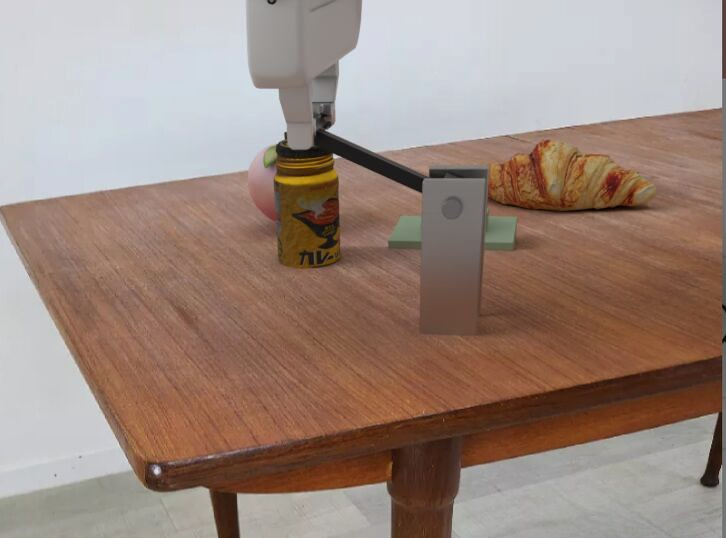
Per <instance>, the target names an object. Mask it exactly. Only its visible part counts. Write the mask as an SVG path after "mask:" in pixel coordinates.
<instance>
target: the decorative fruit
mask: <svg viewBox="0 0 726 538" xmlns="http://www.w3.org/2000/svg"><path fill="white" fill-rule="evenodd" d="M283 136H284V140H285V139H287V131H284V132H283ZM277 144H278V143H273V144H270V145H268V146H266V147H263V148H262V149H261V150H260V151H259V152H257V154H256V155H255V156H254V158H253V160H252V161H251V162H250V164H249V166H248V171H247V188H248V193H249V195H250V198H251V200H252V202H253V204H254V205H255V206H256V208H257V209H258V211H260V212H261V213H262V214H263V215H264V216H265V217H267V218H269V219H270V220H271V221H273V222H275V223H276V211H275V199H274V197H275V196H274V175H275V174H276V172H277V169H276V160H277V153H276V150H275V149H276V145H277Z"/></svg>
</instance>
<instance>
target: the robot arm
mask: <svg viewBox="0 0 726 538" xmlns="http://www.w3.org/2000/svg"><path fill="white" fill-rule="evenodd" d="M362 9H363V0H245V26H246V30H245V31H246V54H247V55H246V56H247V64H248V65H247V67H248V72H249V75H250V79H251V82H252V85H253V86H254V88H256V89H261V90H265V89H266V90H268V89H269V90H272V89H273V90H278V100H279V103H280V106H281V111H282V114H283V118H284V120H285V121H284V122H285V123H286V125H285V126H286V132H287V141H288V146H289V147H290V148H291V149H293V150H307V149H309V148H310V147H312V146H313V144H314V143H315V141H316V118H314V119H313V113H318V114H320V115H321V116H323V118H324V119H325V122H326V129H325V131H327V130H330V128H332V127H333V126H334V125H335V123H336V121H337V120H336V99H337V93H338V84H339V79H340V78H339V77H340V60H341V59H343V58H344V57H346V56H347V55H349V54H350V53H351V52H352V51H354V50H356V48H357V46H358V43H359V38H360V31H361V23H362V12H363V10H362Z"/></svg>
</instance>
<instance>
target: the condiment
mask: <svg viewBox="0 0 726 538" xmlns="http://www.w3.org/2000/svg"><path fill="white" fill-rule="evenodd" d="M276 144H277V145H276V149H275V150H276V153H277V160H276V169H277V172H276V174H275V175H274V196H275V197H274V199H275V211H276V222H275V226H276V227H275V228H276V243H277V244H276V245H277V256H278V258H277V259H278V263H279V264H280V265H282V266H285V267H289V268H293V269H316V268H325V267H327V266H330V265H331V266H332V265H333V264H336V263H338V262H339V261H340V260H341V257H342V253H341V225H340V224H341V222H340V197H339V196H340V195H339V194H340V193H339V190H340V189H339V188H340V181H339V174H338V172H337V170H336V169H335V168H334V167H335V166H334V165H335V158H334V154H333V153H331V152H329V151H326V150H324V149H322V148H320V147H317V146H315V145H313V146H312V147H310V148H309V149H307V150H306V151H304V152H296V151H294V150H293V149H291V148H290V147H289V146H288V141H287V139H285V138H284V139H282V140H280V141H278V142H277V143H276Z"/></svg>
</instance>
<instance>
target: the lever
mask: <svg viewBox="0 0 726 538" xmlns="http://www.w3.org/2000/svg"><path fill="white" fill-rule="evenodd" d="M314 118H316V141H315V143H314V144H313V145H315V146H317V147H320V148H322V149H324V150H326V151H329V152H331V153H333V155H335V156H337V157H340V158H342V159H344V160H347V161H349V162H351V163H353V164H355V165H357V166H360V167H362V168H364V169H366V170H369V171H371V172H373V173H375V174H378V175H380V176H381V177H384V178H386V179H388V180H391V181H394V182H395V183H398V184H399V185H402V186H405V187H407V188H408V189H411V190H414V191H415V192H417V193H420V194H422V184H423V180H424V179H425V178H430V177H429V175H426V174H423V173H421V172H419V171H416V170H414V169H413V168H410V167H407V166H406V165H403V164H402V163H399V162H397V161H394V160H392V159H389V158H388V157H385V156H383V155H381V154H379V153H376V152H374V151H372V150H370V149H368V148H365V147H363V146H362V145H358V144H356V143H354V142H352V141H349V140H347V139H346V138H343V137H341V136H338V135H336V134H334V133H332V132H330V131H327V130H325V129H326V122H325V119H324V118H323V116H321V115H320V114H318V113H313V119H314ZM294 151H296V152H304V151H306V150H294ZM444 178H459V177H457V176H455V175H452V174H450V173H448V172H447V173H446V175H445V177H444Z"/></svg>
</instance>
